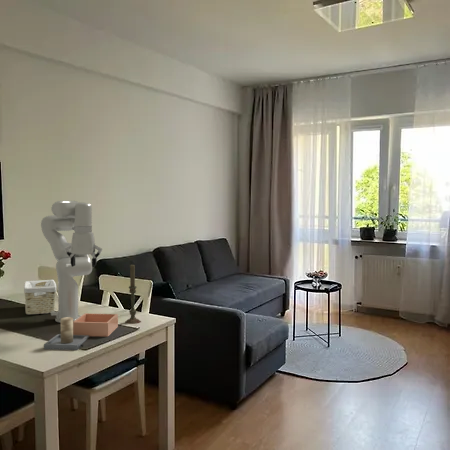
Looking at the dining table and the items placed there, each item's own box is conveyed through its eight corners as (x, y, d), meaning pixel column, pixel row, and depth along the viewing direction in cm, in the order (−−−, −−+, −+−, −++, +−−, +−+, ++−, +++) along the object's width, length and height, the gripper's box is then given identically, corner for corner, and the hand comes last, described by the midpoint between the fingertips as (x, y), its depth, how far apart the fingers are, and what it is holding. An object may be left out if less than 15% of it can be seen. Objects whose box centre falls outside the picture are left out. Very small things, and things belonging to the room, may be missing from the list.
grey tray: (43, 349, 194) (43, 344, 194) (57, 338, 208) (57, 334, 208) (77, 349, 193) (77, 345, 193) (88, 339, 207) (88, 335, 207)
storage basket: (24, 306, 268) (24, 280, 267) (55, 304, 274) (54, 278, 273) (24, 316, 246) (23, 288, 245) (57, 313, 252) (56, 286, 251)
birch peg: (58, 343, 198) (58, 320, 198) (63, 339, 203) (63, 317, 203) (70, 343, 198) (70, 320, 197) (74, 340, 203) (74, 317, 202)
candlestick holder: (132, 327, 227) (132, 265, 225) (119, 324, 233) (119, 263, 231) (146, 323, 235) (145, 263, 233) (133, 320, 240) (132, 261, 238)
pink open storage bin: (72, 337, 210) (72, 322, 209) (84, 327, 226) (84, 313, 225) (108, 338, 209) (108, 323, 209) (118, 328, 225) (117, 314, 225)
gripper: (61, 230, 215) (62, 267, 216) (99, 230, 214) (99, 268, 216) (68, 228, 223) (68, 264, 224) (104, 229, 222) (104, 265, 223)
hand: (83, 266), depth 220 cm, fingers open, 9 cm apart
